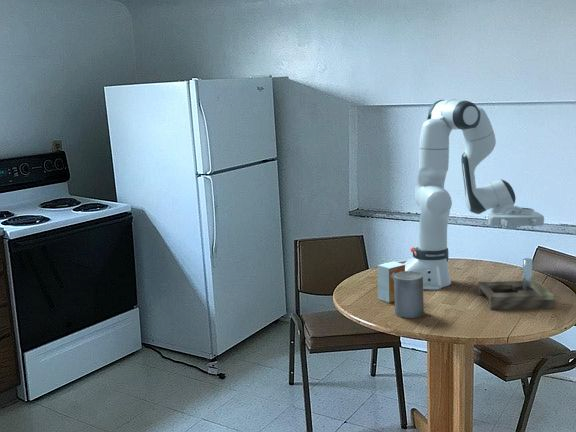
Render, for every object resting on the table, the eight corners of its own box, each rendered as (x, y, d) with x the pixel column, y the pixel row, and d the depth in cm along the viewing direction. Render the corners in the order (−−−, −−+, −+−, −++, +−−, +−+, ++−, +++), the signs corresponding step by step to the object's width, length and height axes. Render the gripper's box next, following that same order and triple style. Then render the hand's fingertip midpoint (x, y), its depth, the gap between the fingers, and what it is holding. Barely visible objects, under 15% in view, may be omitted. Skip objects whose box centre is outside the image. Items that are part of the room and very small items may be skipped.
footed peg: (520, 303, 221) (521, 262, 218) (515, 298, 227) (516, 257, 224) (538, 303, 220) (539, 261, 218) (532, 297, 226) (533, 257, 223)
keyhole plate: (490, 309, 216) (491, 297, 215) (478, 294, 233) (478, 282, 232) (553, 308, 215) (553, 295, 214) (536, 292, 232) (536, 280, 231)
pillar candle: (411, 306, 223) (410, 265, 220) (429, 314, 214) (429, 272, 211) (389, 312, 218) (387, 270, 215) (406, 320, 210) (405, 277, 207)
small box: (389, 303, 227) (388, 268, 225) (377, 299, 232) (376, 264, 230) (405, 298, 232) (405, 264, 229) (393, 294, 237) (393, 260, 234)
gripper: (483, 208, 248) (493, 215, 234) (537, 208, 247) (549, 215, 233) (483, 224, 249) (492, 232, 235) (536, 224, 248) (548, 232, 234)
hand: (521, 223), depth 234 cm, fingers open, 8 cm apart
